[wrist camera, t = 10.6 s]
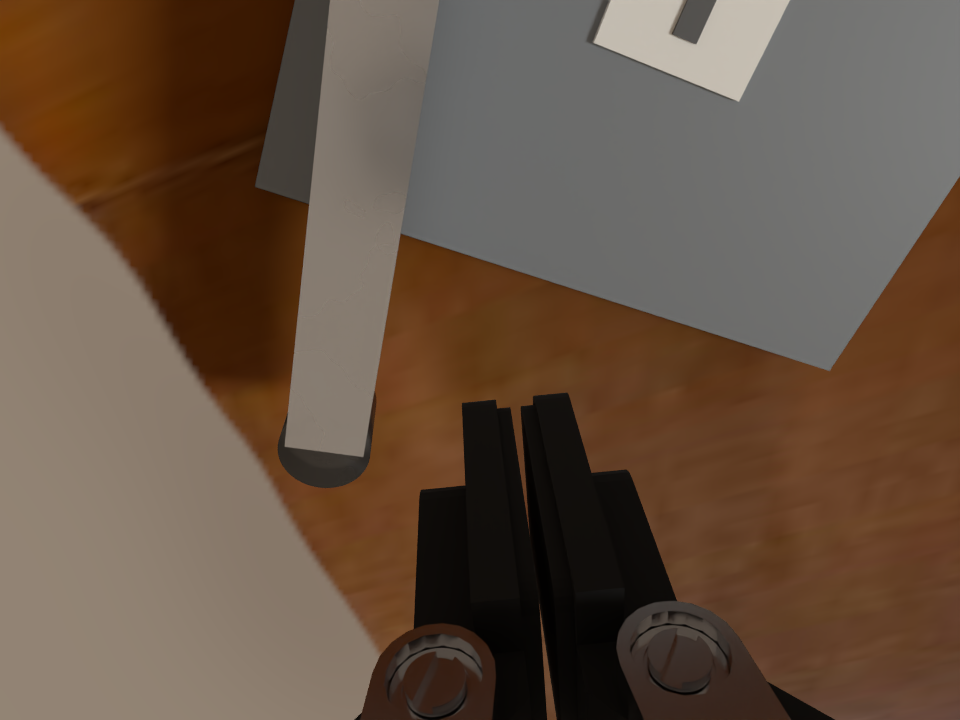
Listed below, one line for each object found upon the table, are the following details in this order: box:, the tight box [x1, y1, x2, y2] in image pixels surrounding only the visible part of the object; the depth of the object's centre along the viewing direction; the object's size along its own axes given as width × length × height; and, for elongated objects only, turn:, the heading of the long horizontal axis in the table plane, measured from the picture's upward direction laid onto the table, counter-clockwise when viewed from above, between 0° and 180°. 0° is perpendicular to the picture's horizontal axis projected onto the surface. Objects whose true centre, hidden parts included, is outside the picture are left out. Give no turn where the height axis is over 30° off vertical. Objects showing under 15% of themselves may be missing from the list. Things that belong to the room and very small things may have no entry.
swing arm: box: [278, 0, 439, 488], centre depth 19 cm, size 20×4×3 cm, turn 168°
